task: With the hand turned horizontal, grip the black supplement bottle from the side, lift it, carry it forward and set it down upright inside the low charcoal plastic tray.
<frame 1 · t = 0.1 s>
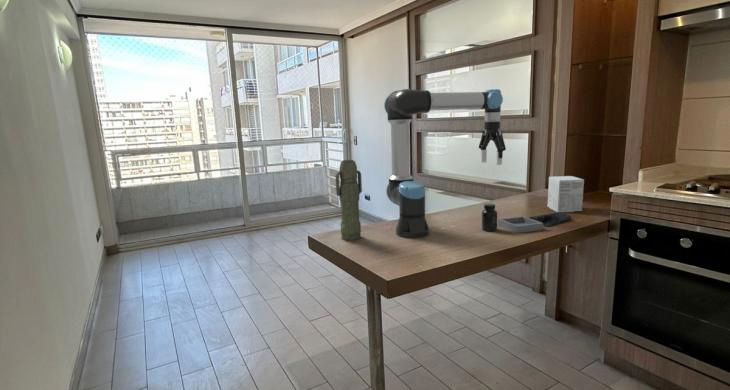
hand: (491, 163, 201), 28 cm above the table, tool pointing down, fingers open, 13 cm apart
dark slate chunk: (547, 222, 195), on the table
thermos: (351, 238, 178), on the table
supplement box: (564, 209, 216), on the table
tray: (519, 227, 185), on the table
supplement bottle: (489, 230, 183), on the table
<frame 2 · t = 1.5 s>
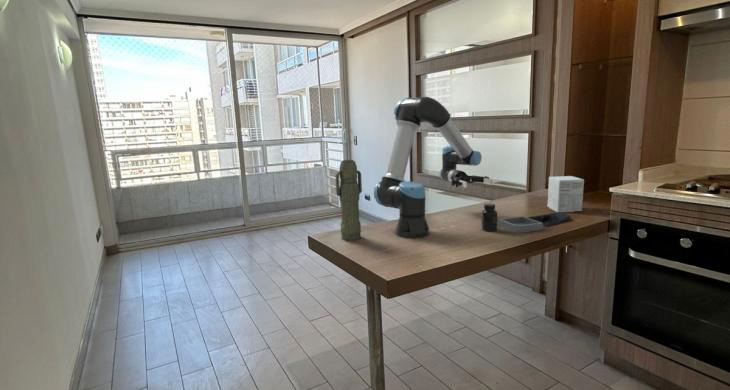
hand: (479, 183, 188), 20 cm above the table, tool horizontal, fingers open, 13 cm apart
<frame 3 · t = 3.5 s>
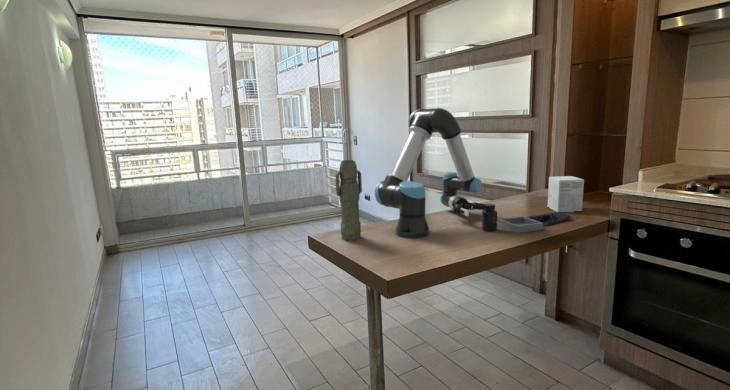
hand: (480, 212, 189), 7 cm above the table, tool horizontal, fingers open, 13 cm apart
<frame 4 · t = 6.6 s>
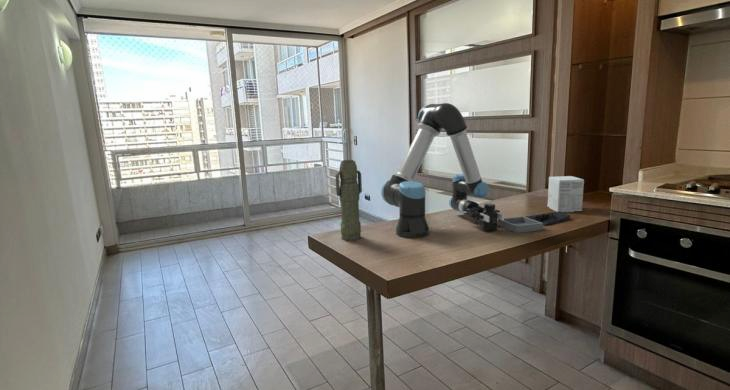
hand: (495, 218, 177), 7 cm above the table, tool horizontal, fingers closed on supplement bottle, 7 cm apart
supplement bottle: (489, 230, 183), on the table, touching gripper
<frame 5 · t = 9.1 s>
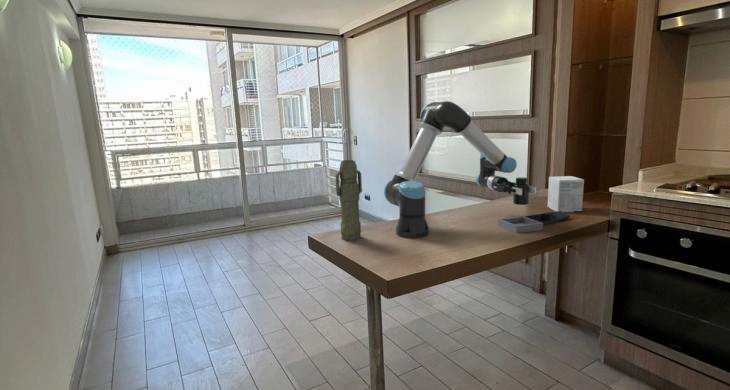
hand: (528, 191, 177), 18 cm above the table, tool horizontal, fingers closed on supplement bottle, 7 cm apart
supplement bottle: (520, 203, 183), point 11 cm above the table, touching gripper
when the fingers open (9 cm above the table, at t = 11.5 s): supplement bottle drops 1 cm, resting on tray.
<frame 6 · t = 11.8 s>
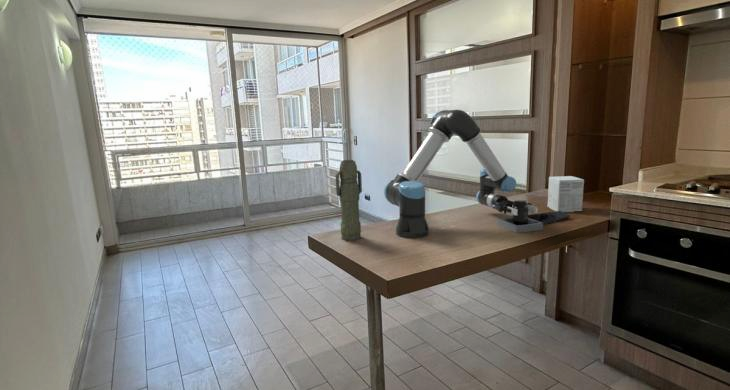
hand: (526, 211, 179), 9 cm above the table, tool horizontal, fingers open, 10 cm apart
supplement bottle: (519, 226, 185), point 1 cm above the table, touching tray
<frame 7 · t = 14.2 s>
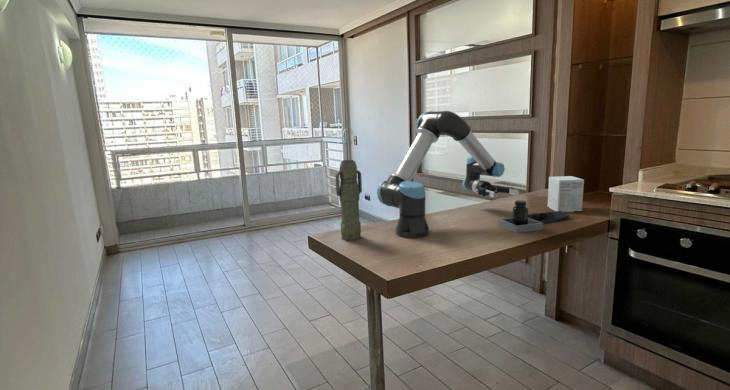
hand: (506, 194, 192), 14 cm above the table, tool horizontal, fingers open, 13 cm apart
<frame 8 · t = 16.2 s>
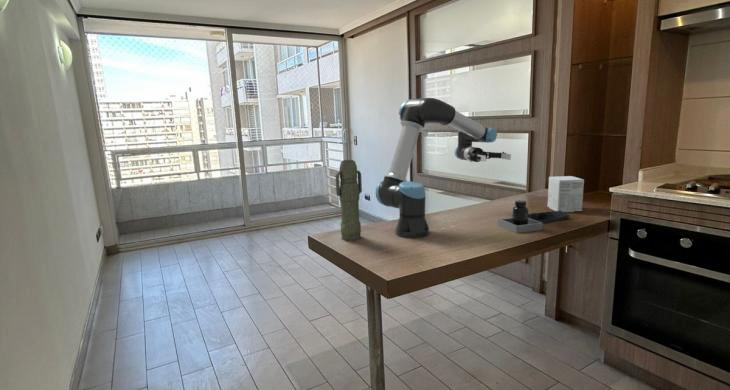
hand: (497, 157, 188), 32 cm above the table, tool horizontal, fingers open, 13 cm apart
at the end: supplement bottle inside the target area on the tray (0.0 cm from its centre), point 0.4 cm above the tray's base; supplement bottle tilted 0°; the gripper is holding nothing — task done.
